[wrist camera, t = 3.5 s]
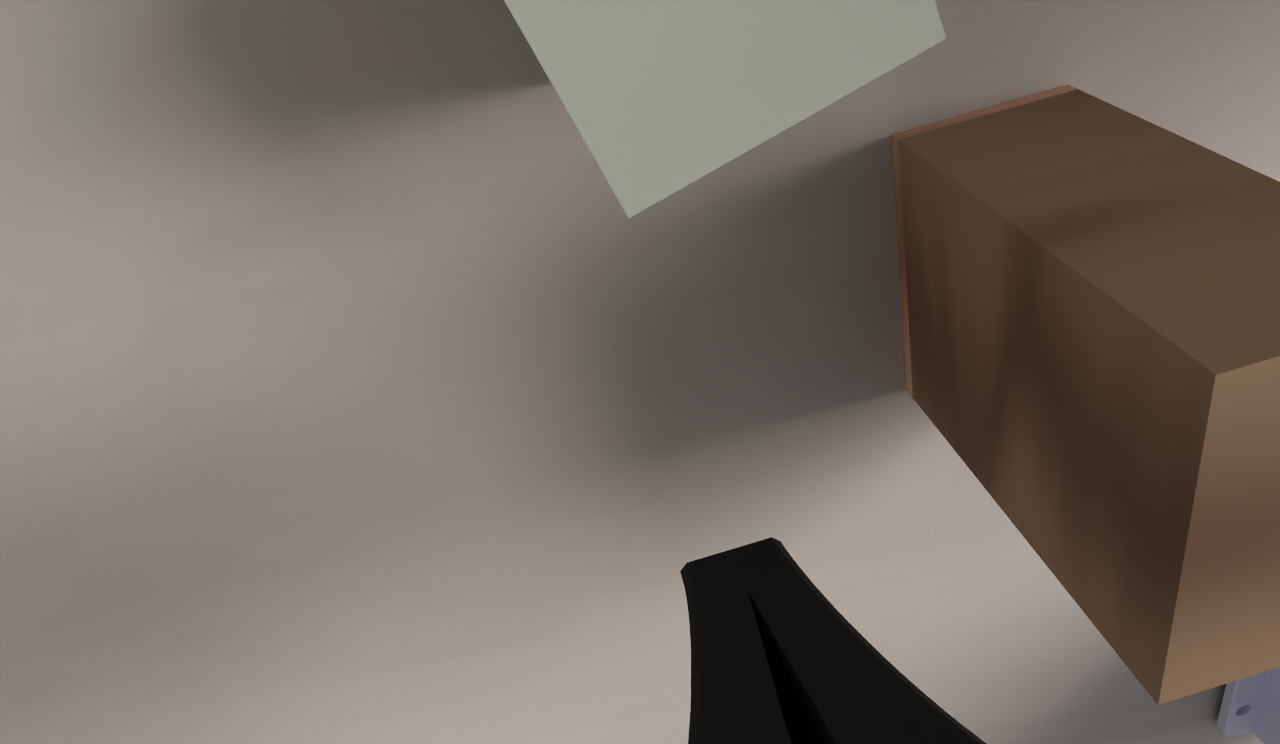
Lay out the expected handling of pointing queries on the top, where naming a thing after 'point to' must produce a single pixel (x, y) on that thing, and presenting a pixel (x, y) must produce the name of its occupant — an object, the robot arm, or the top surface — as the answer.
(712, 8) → the sage block
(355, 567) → the top surface
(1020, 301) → the walnut block
